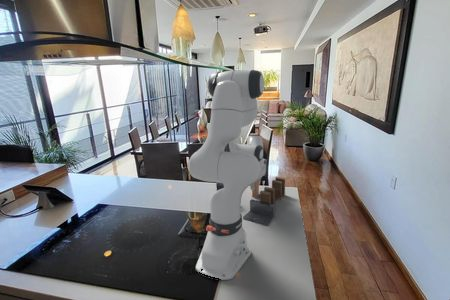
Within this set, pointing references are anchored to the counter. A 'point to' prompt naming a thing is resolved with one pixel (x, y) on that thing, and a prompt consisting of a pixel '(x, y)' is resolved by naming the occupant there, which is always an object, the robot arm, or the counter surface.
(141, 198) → the counter surface
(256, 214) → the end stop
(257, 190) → the tile
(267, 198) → the tile
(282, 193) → the end tile
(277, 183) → the tile
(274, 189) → the tile
